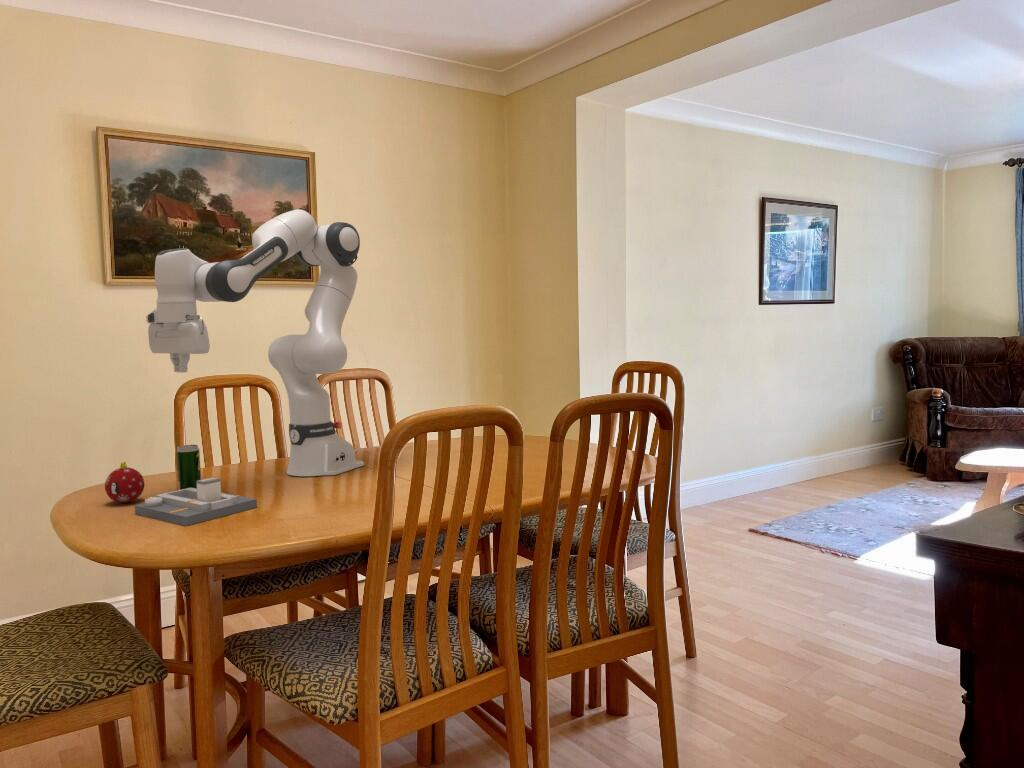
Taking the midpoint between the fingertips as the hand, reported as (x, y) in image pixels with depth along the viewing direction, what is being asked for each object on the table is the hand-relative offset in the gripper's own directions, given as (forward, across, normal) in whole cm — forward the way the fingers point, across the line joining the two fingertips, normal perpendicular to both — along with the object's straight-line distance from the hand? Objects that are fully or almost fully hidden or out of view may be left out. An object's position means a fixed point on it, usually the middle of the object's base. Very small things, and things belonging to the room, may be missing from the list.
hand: (180, 372), depth 186 cm
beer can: (+31, +4, -3) cm, 32 cm away
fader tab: (+29, -19, +7) cm, 35 cm away
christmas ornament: (+31, +9, +11) cm, 34 cm away
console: (+31, -14, +7) cm, 35 cm away
